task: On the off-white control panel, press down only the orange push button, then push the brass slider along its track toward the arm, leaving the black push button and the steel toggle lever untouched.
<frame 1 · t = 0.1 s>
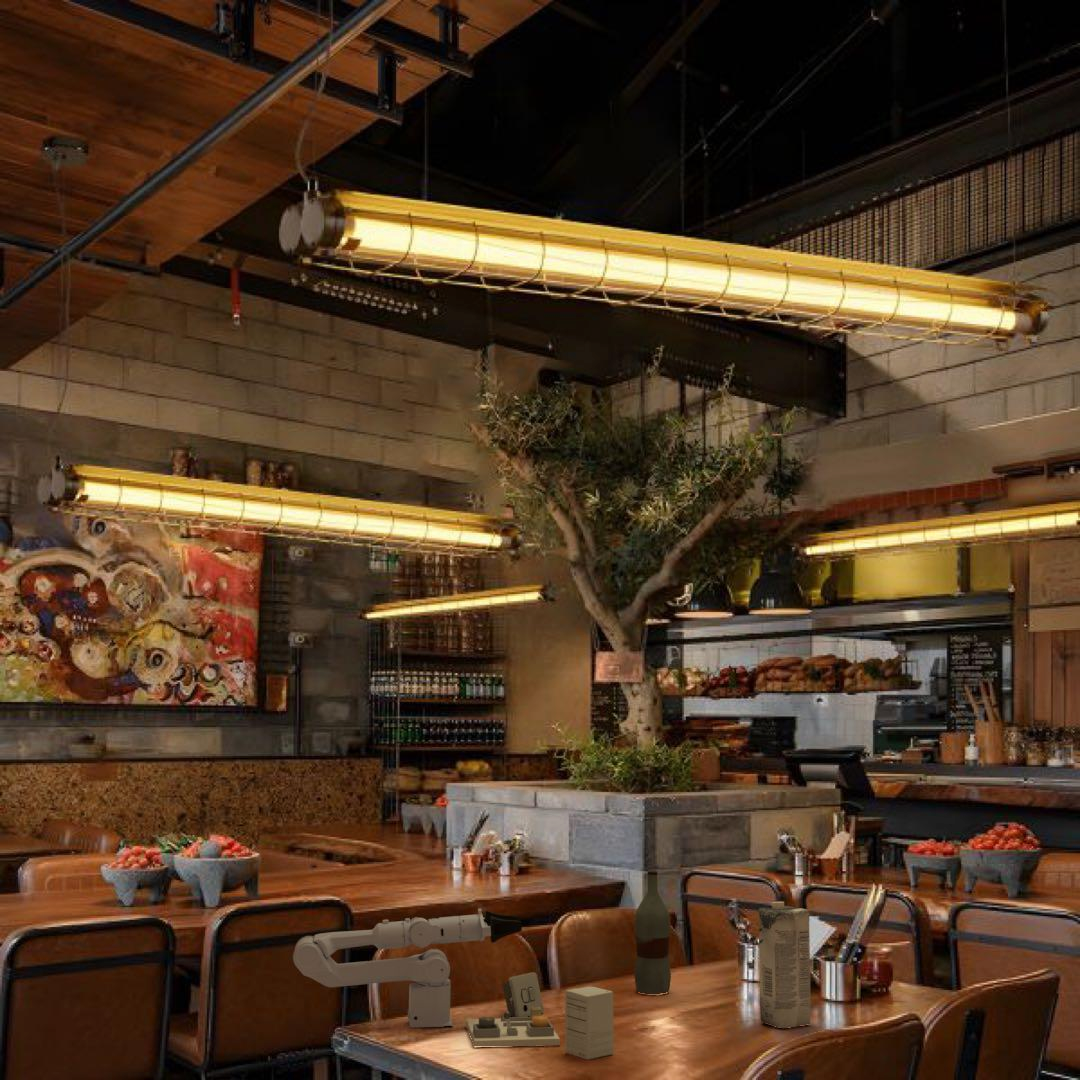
hand: (519, 923, 307), 22 cm above the table, tool horizontal, fingers open, 7 cm apart
bottle: (652, 993, 339), on the table
toggle lever: (508, 1022, 287), point 4 cm above the table, hinge at -12.0°
control panel: (511, 1035, 292), on the table
juice carton: (785, 1025, 304), on the table
supplement box: (589, 1055, 277), on the table
orange button: (540, 1021, 288), point 4 cm above the table, slide at 0.0 cm
black button: (486, 1022, 286), point 4 cm above the table, slide at 0.0 cm
electrical switch: (522, 1016, 312), on the table
brass slider: (535, 1014, 298), point 3 cm above the table, slide at 0.0 cm
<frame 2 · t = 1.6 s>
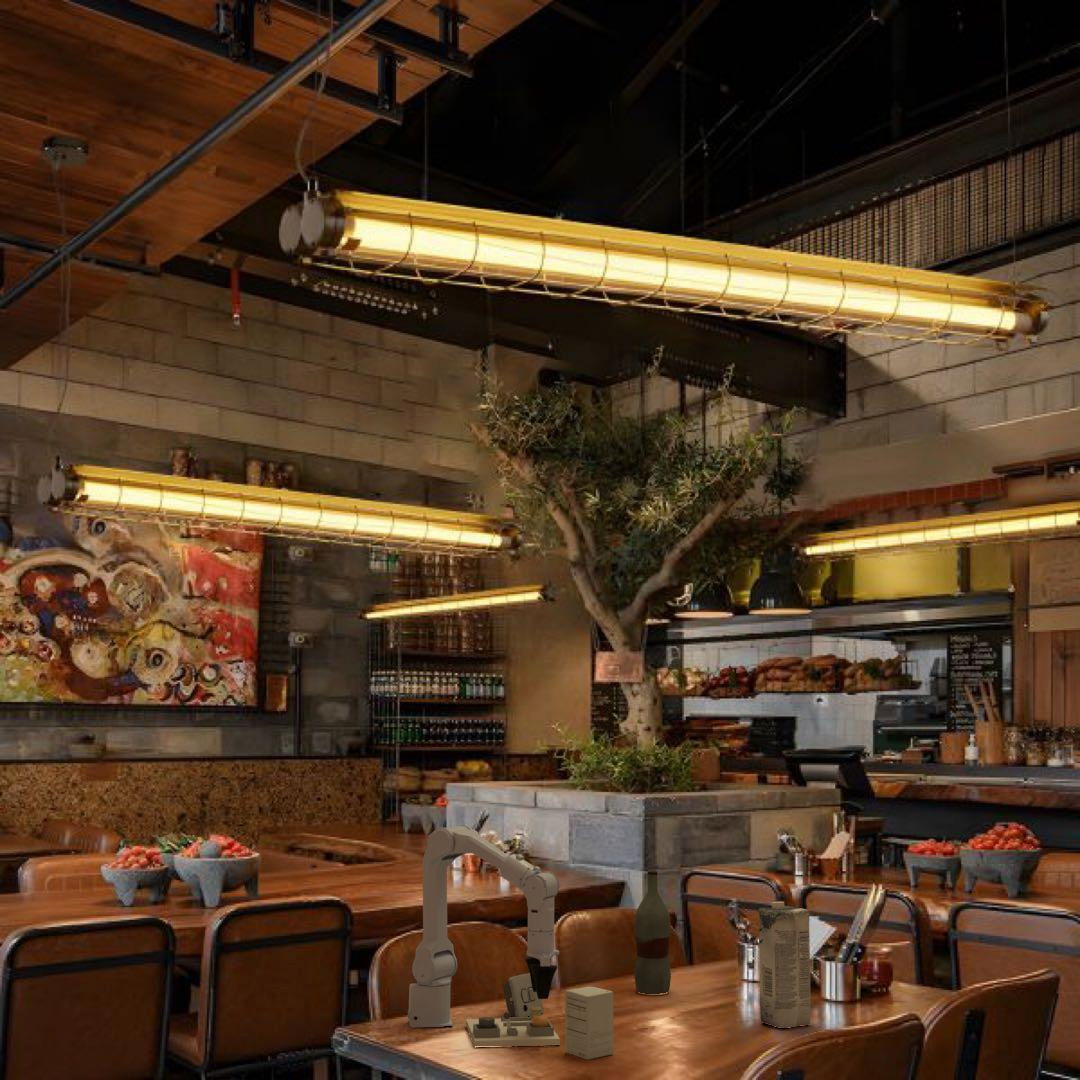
hand: (540, 995, 289), 9 cm above the table, tool pointing down, fingers open, 7 cm apart
nothing on the table moved.
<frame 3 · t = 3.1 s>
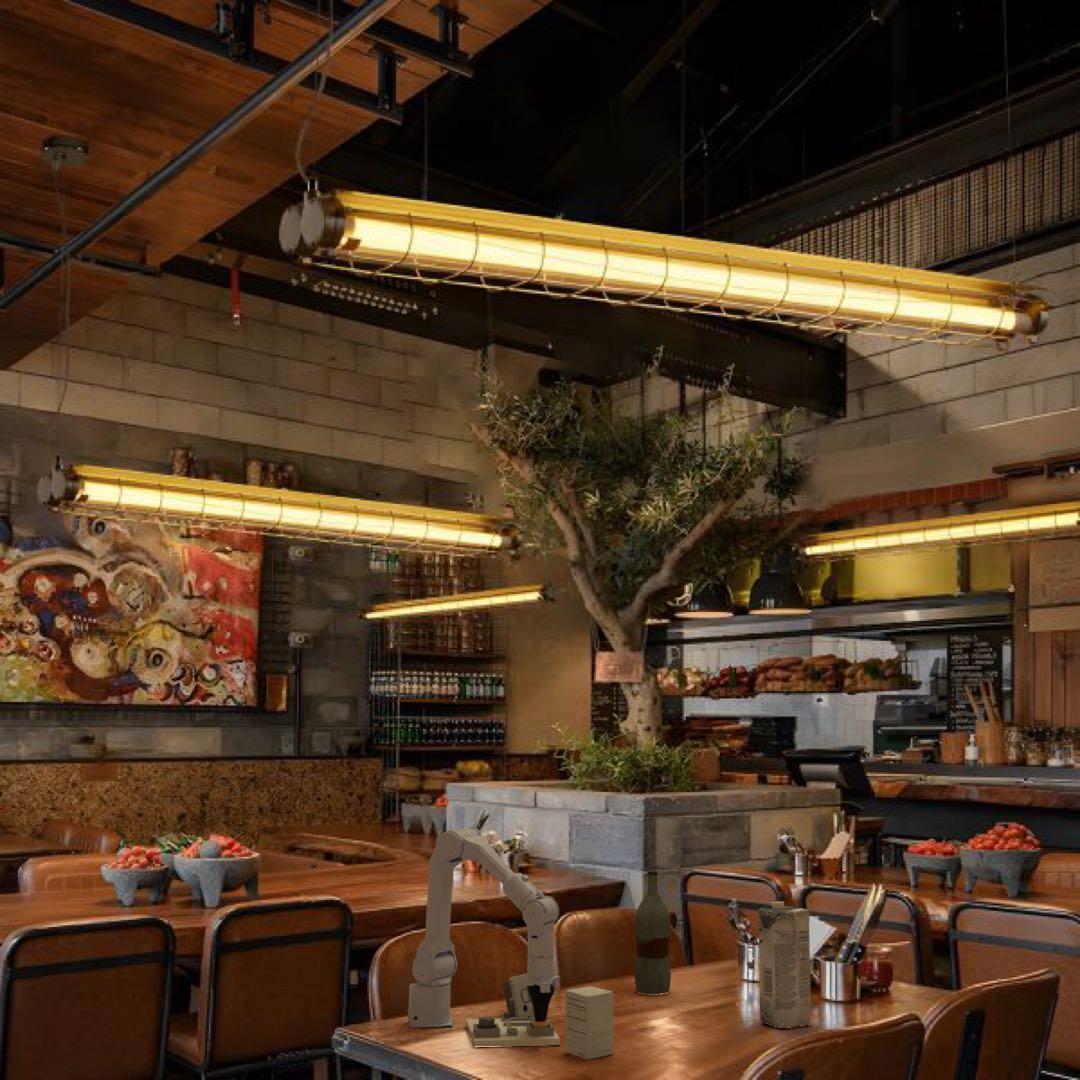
hand: (540, 1021, 288), 4 cm above the table, tool pointing down, fingers closed, pressing on orange button
orange button: (540, 1024, 288), point 3 cm above the table, slide at 0.7 cm, touching gripper
everything else where it was.
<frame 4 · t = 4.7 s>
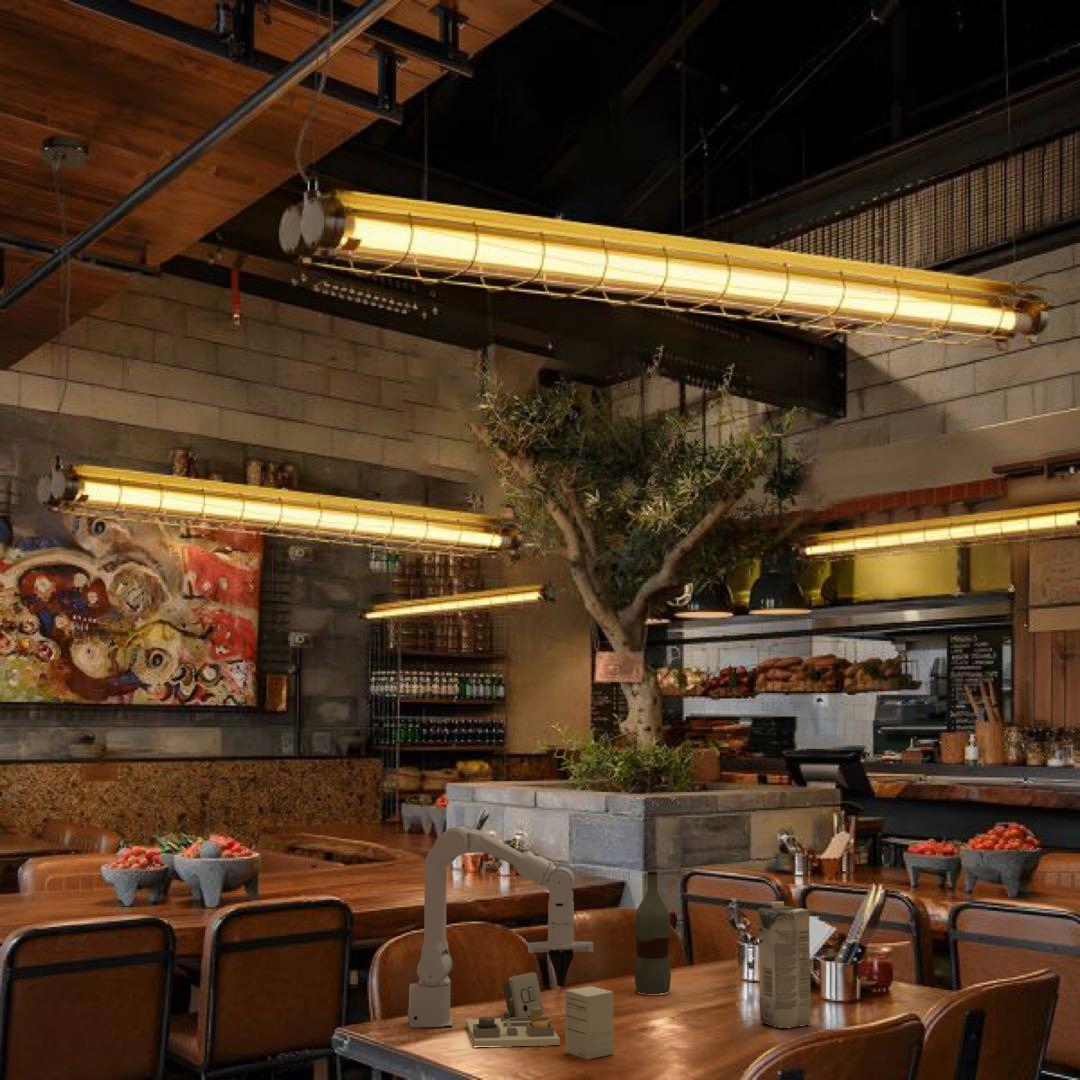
hand: (560, 985, 299), 9 cm above the table, tool pointing down, fingers closed
orange button: (540, 1026, 288), point 3 cm above the table, slide at 1.0 cm
everything else where it was.
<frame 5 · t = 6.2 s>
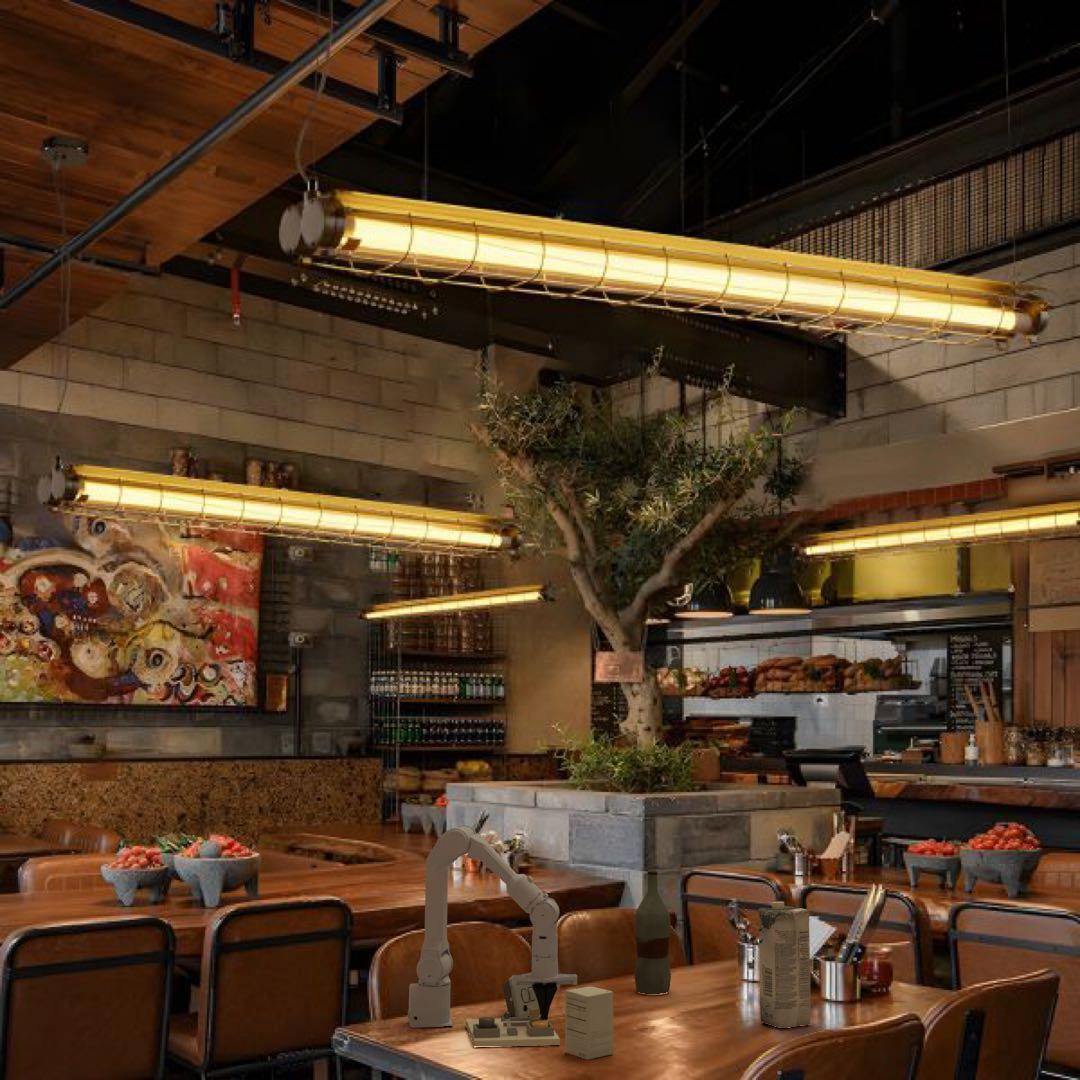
hand: (544, 1018, 298), 2 cm above the table, tool pointing down, fingers closed
brass slider: (534, 1014, 298), point 3 cm above the table, slide at 0.4 cm, touching gripper
everything else where it was.
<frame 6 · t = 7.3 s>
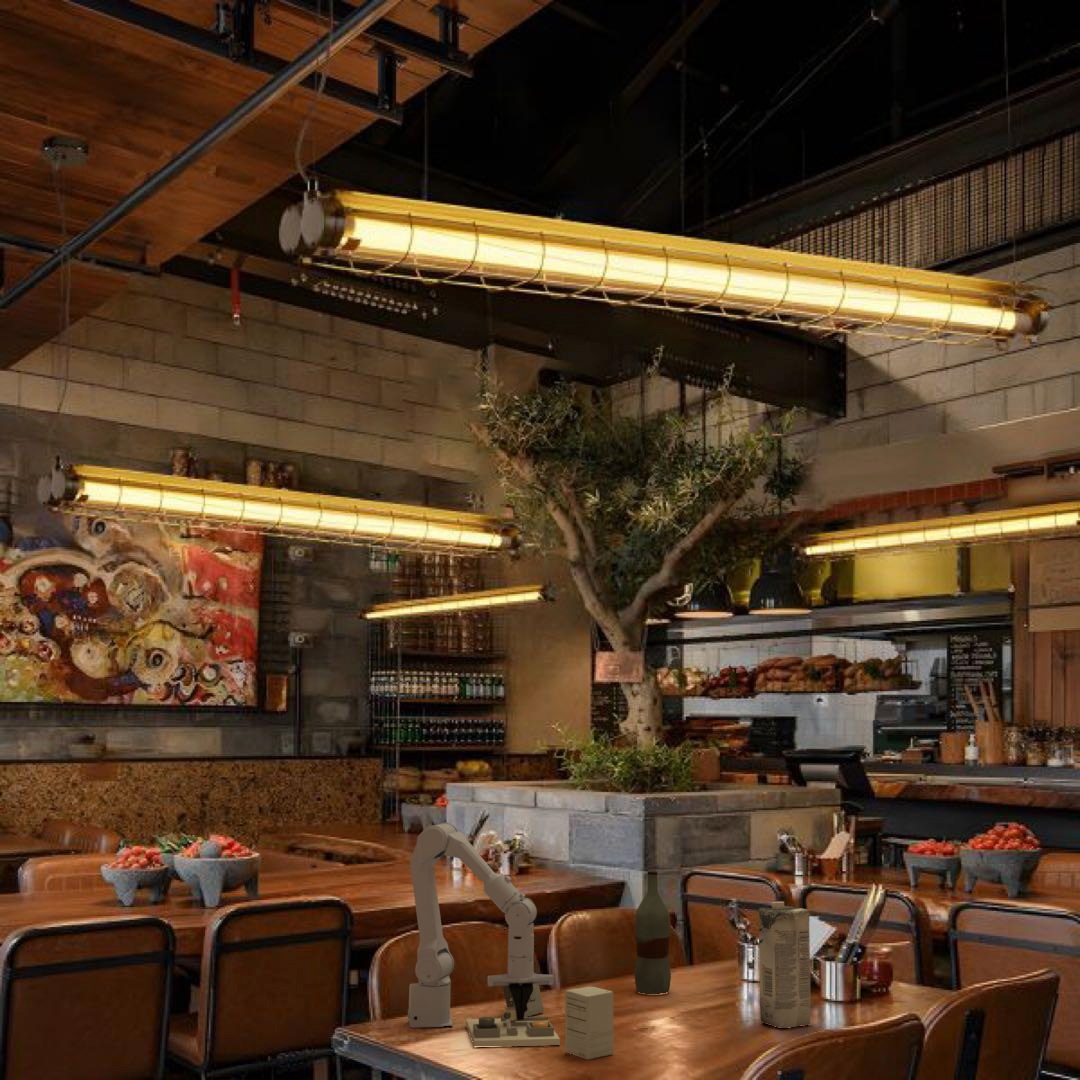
hand: (520, 1018, 297), 2 cm above the table, tool pointing down, fingers closed
brass slider: (510, 1015, 297), point 3 cm above the table, slide at 5.7 cm, touching gripper
everything else where it was.
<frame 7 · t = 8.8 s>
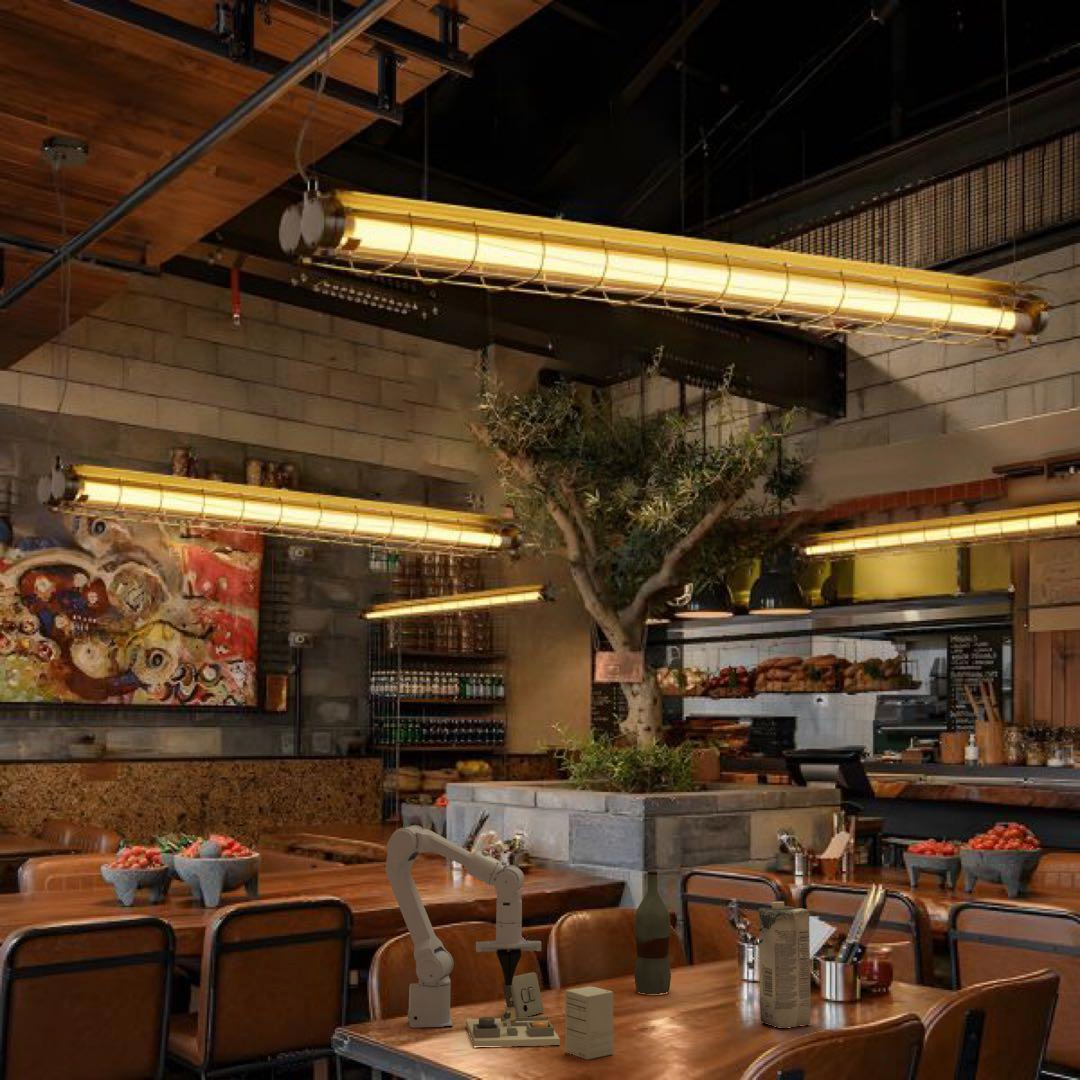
hand: (508, 984, 300), 9 cm above the table, tool pointing down, fingers closed
brass slider: (510, 1015, 297), point 3 cm above the table, slide at 5.7 cm
everything else where it was.
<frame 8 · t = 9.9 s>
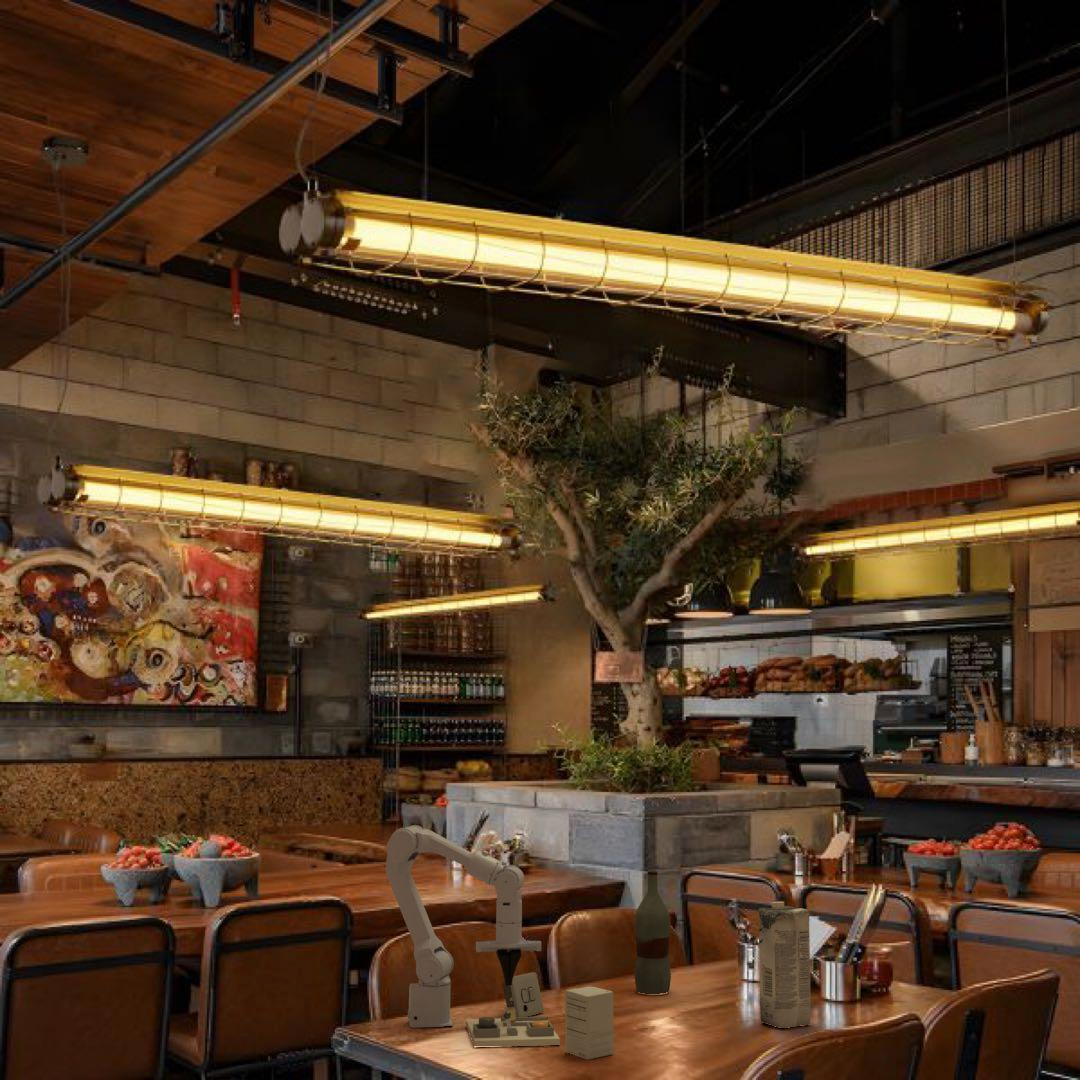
hand: (508, 984, 300), 9 cm above the table, tool pointing down, fingers closed
nothing on the table moved.
at the end: orange button slide at 1.0 cm; brass slider slide at 5.7 cm; black button slide at 0.0 cm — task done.
